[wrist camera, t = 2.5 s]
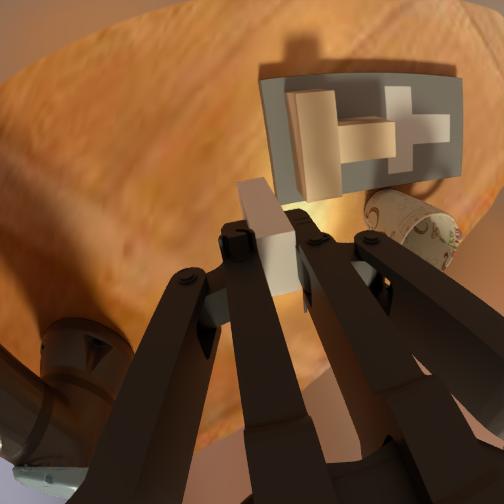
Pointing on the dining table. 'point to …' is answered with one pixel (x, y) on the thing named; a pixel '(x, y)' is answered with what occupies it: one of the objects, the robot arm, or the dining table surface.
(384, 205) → the mug
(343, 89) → the board
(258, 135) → the dining table surface
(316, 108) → the t block
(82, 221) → the dining table surface
